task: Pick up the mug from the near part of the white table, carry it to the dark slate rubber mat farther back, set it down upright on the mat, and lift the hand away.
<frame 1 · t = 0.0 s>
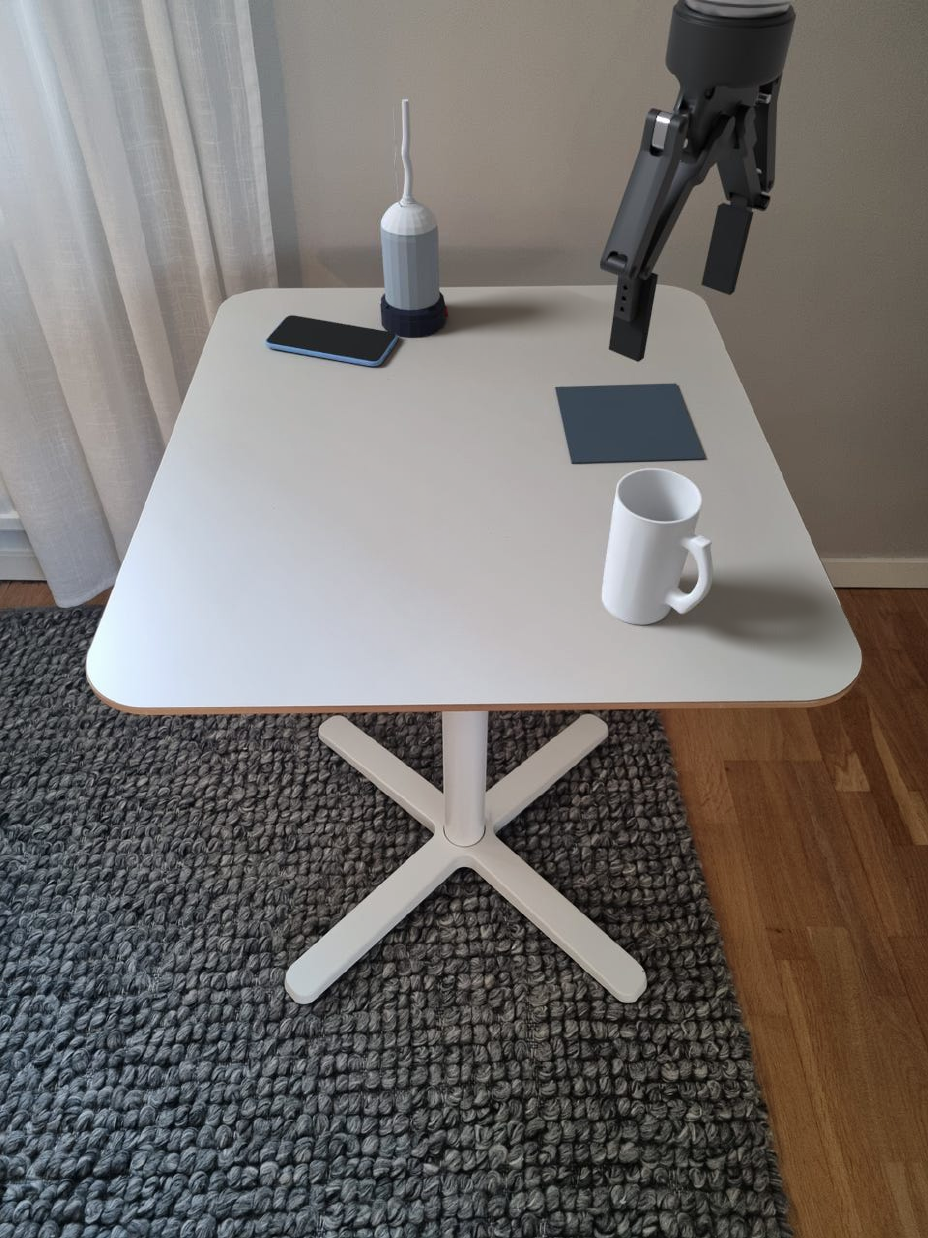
hand: (674, 319, 69), 21 cm above the table, tool pointing down, fingers open, 13 cm apart
mug: (648, 612, 76), on the table
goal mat: (626, 422, 95), on the table
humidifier: (413, 322, 110), on the table
smartphone: (332, 344, 106), on the table
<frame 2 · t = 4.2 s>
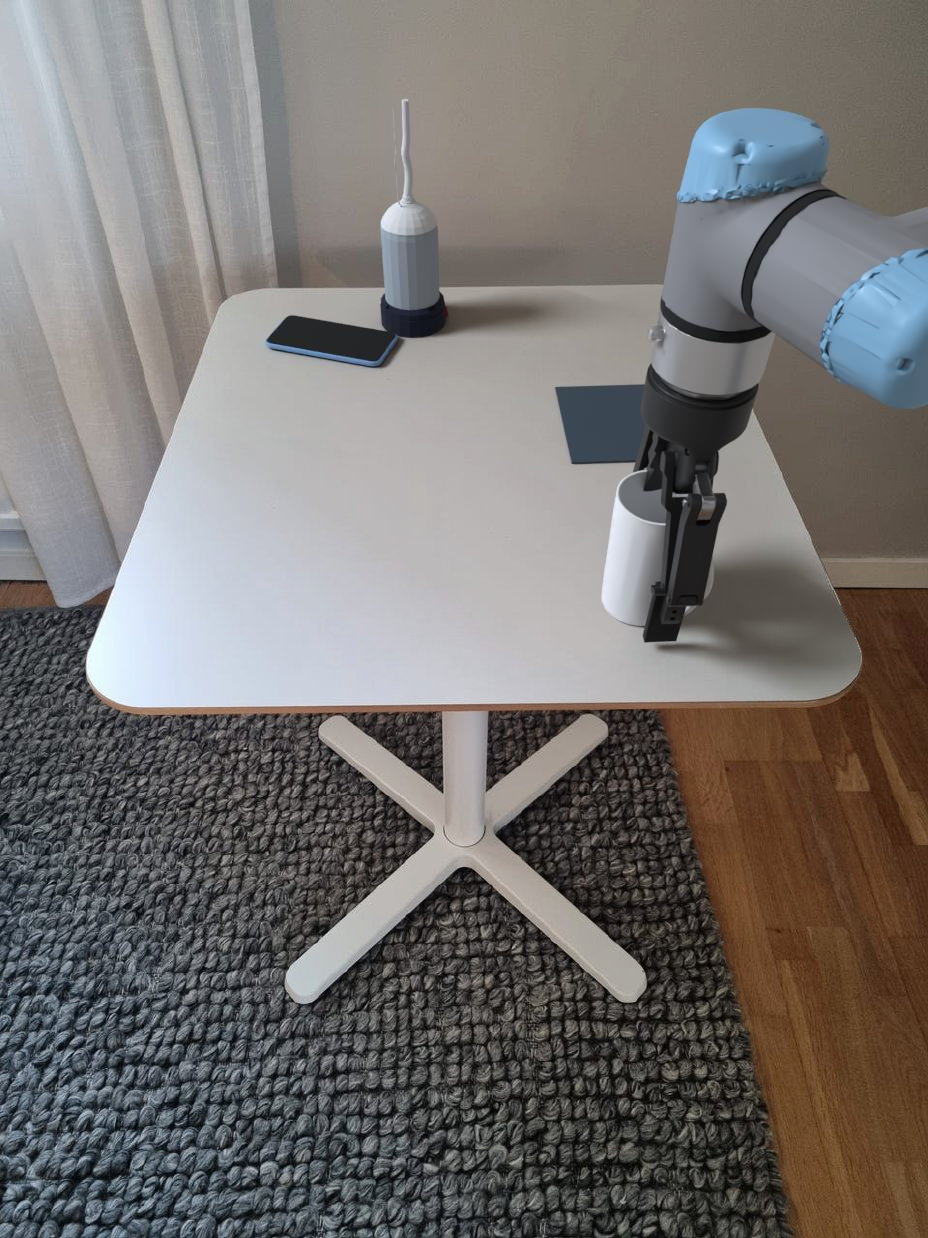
hand: (649, 599, 76), 1 cm above the table, tool pointing down, fingers closed on mug, 8 cm apart
mug: (648, 613, 76), on the table, touching gripper
everything else where it was.
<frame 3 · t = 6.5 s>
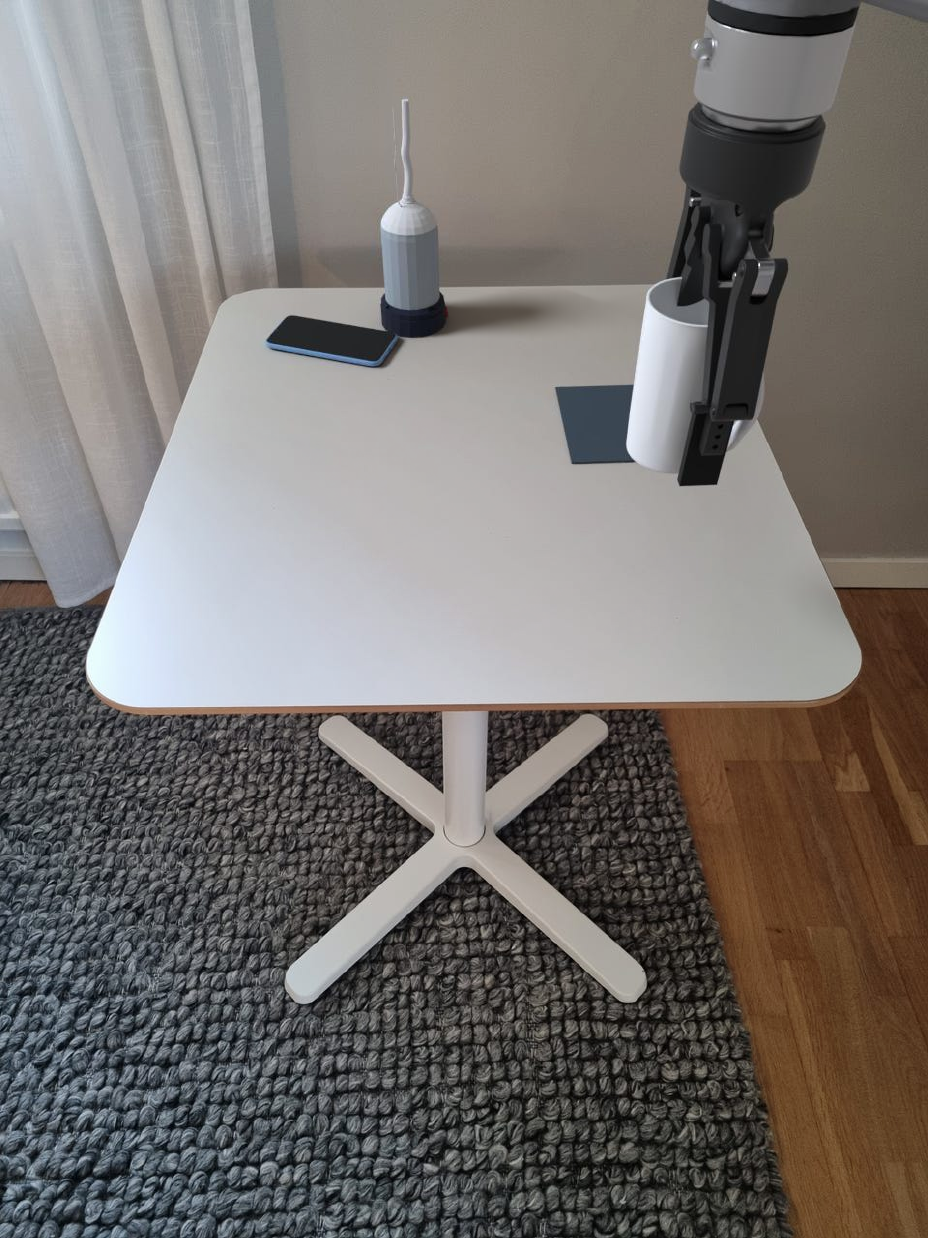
hand: (682, 444, 65), 17 cm above the table, tool pointing down, fingers closed on mug, 8 cm apart
mug: (682, 461, 65), point 15 cm above the table, touching gripper
everything else where it was.
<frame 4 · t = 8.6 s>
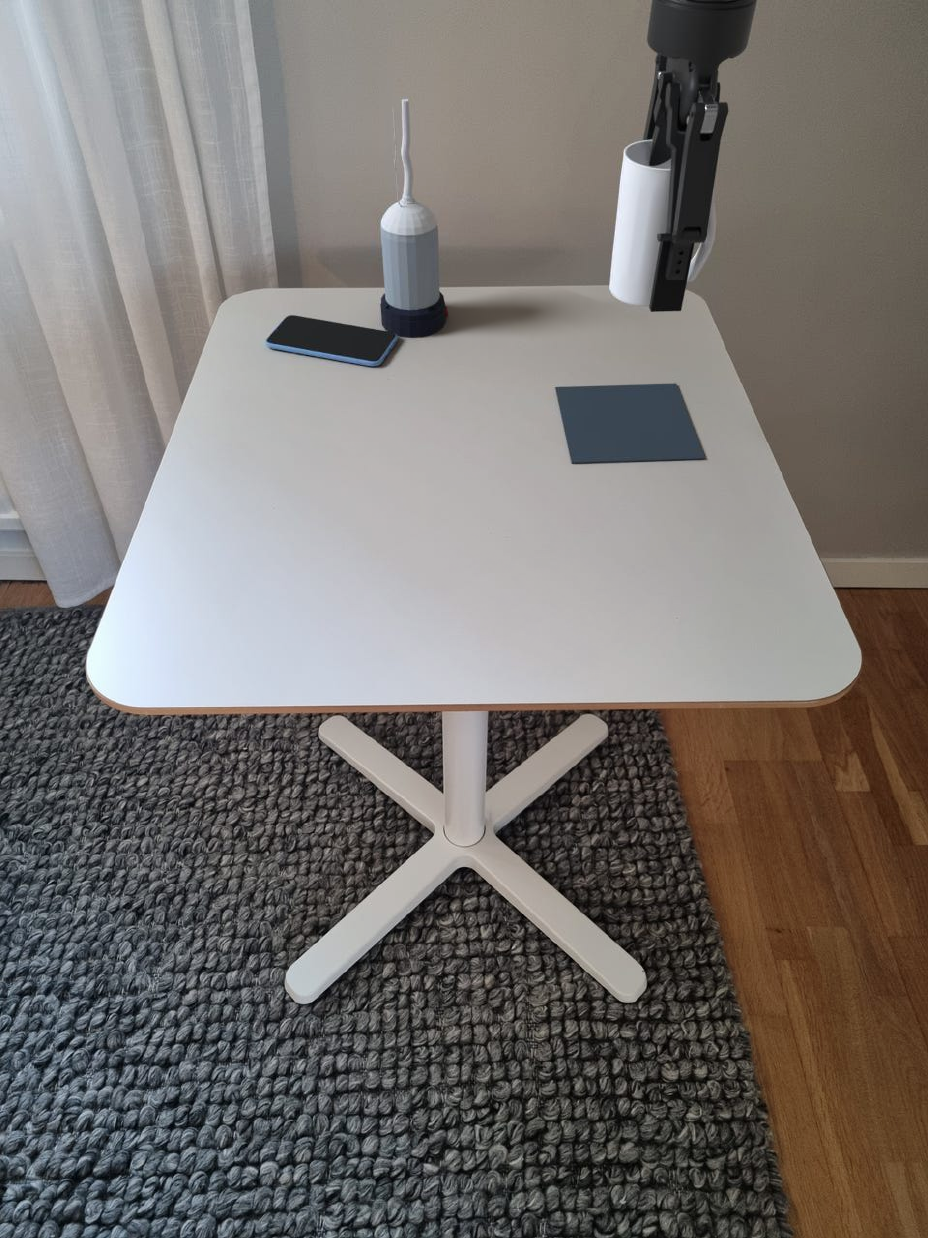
hand: (654, 284, 80), 17 cm above the table, tool pointing down, fingers closed on mug, 8 cm apart
mug: (654, 299, 81), point 16 cm above the table, touching gripper
everything else where it was.
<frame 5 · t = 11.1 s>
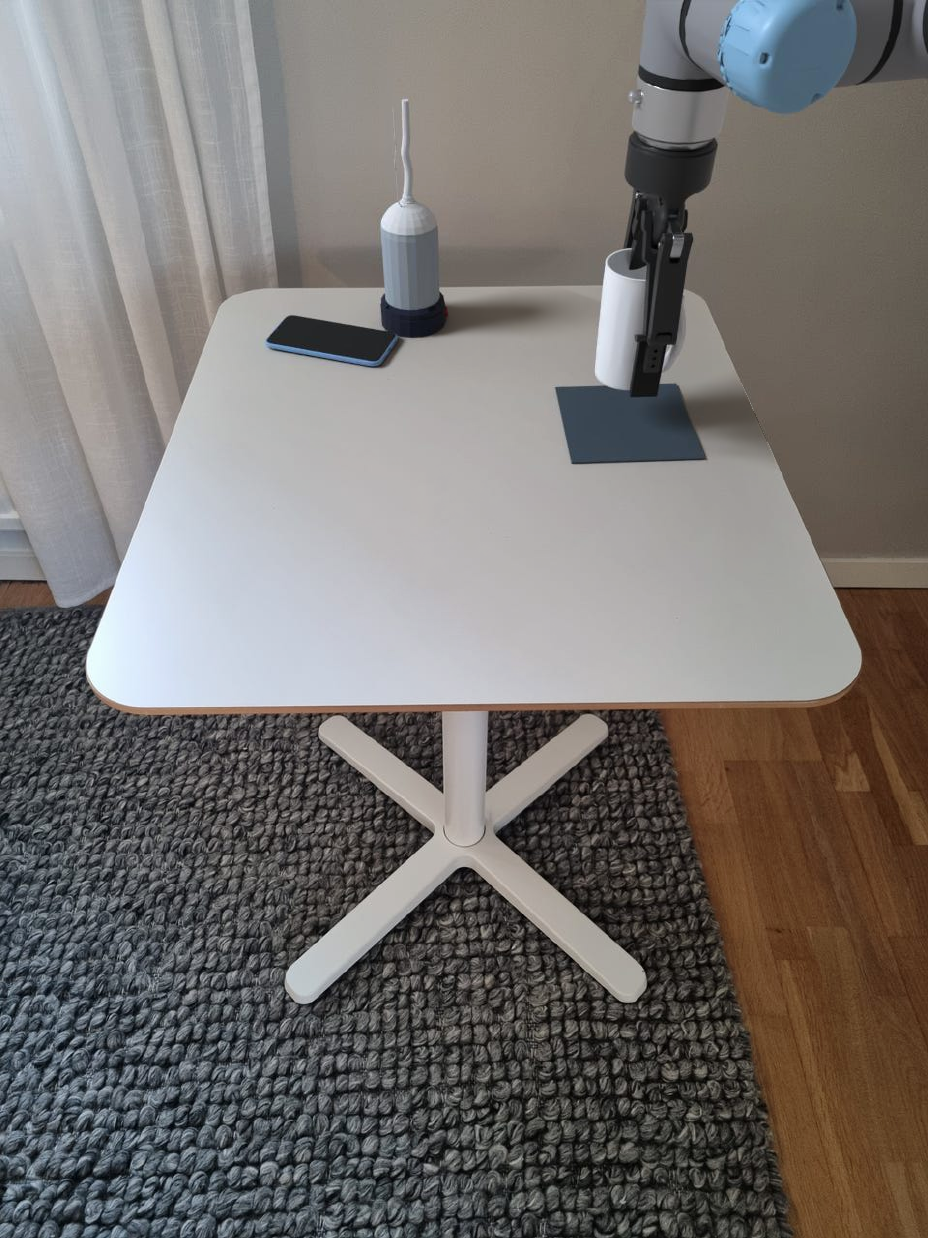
hand: (634, 370, 90), 6 cm above the table, tool pointing down, fingers closed on mug, 8 cm apart
mug: (634, 382, 91), point 5 cm above the table, touching gripper
everything else where it was.
when the fingers open (1 cm above the table, at t = 12.9 s): mug stays where it is, resting on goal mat.
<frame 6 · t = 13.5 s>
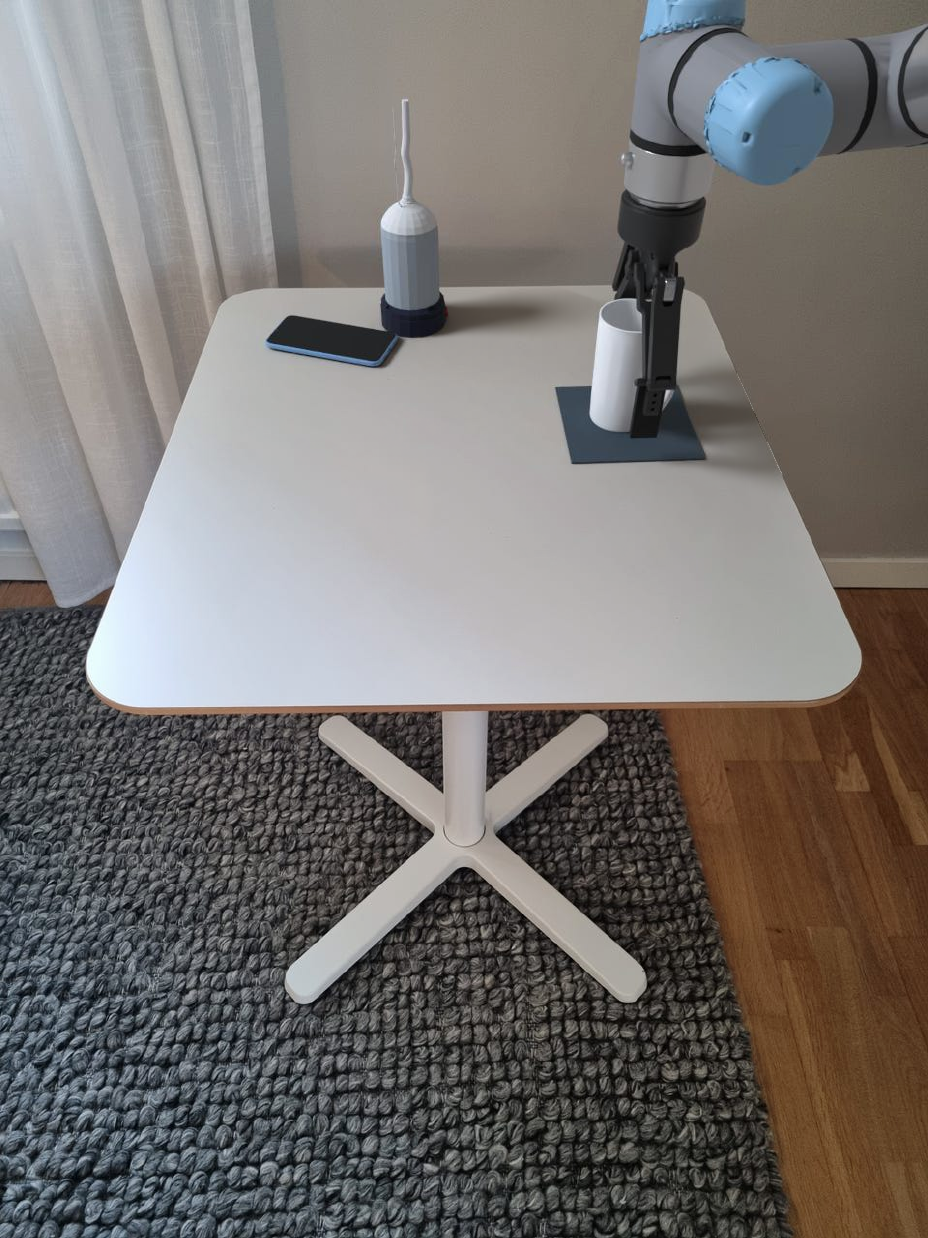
hand: (630, 398, 93), 3 cm above the table, tool pointing down, fingers open, 13 cm apart
mug: (627, 424, 95), resting on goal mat
everything else where it was.
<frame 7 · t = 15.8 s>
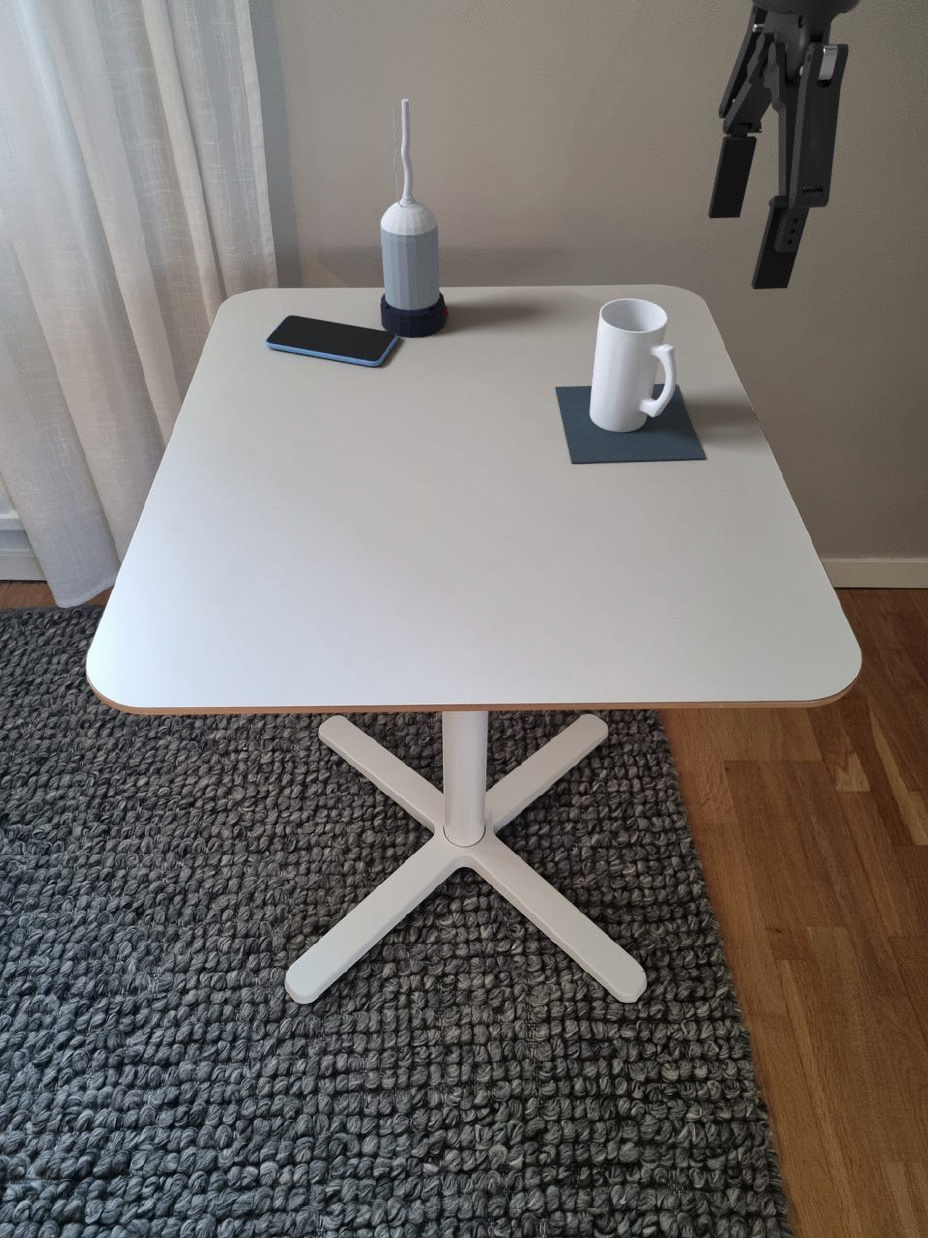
hand: (744, 249, 74), 22 cm above the table, tool pointing down, fingers open, 13 cm apart
nothing on the table moved.
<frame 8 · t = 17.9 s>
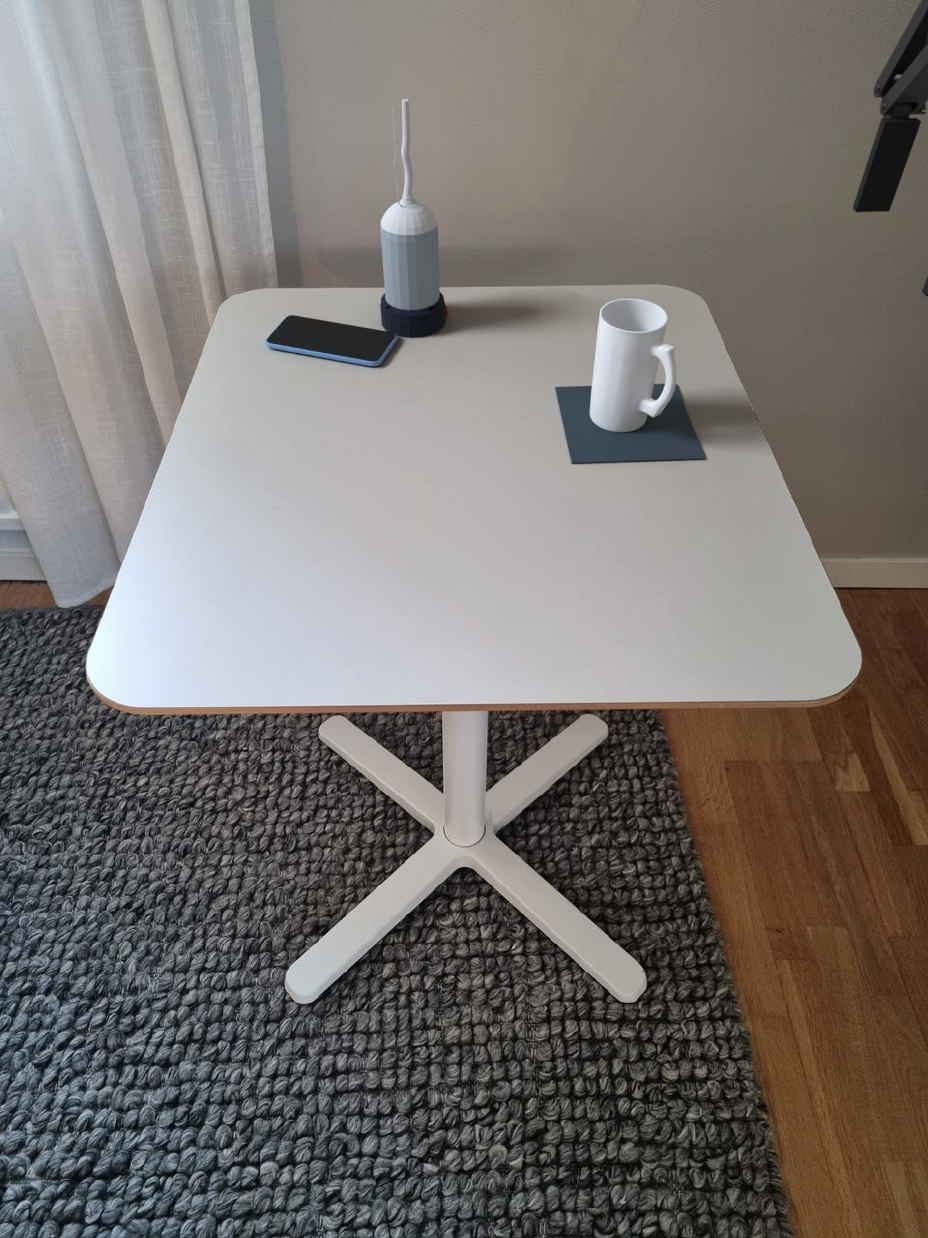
hand: (904, 249, 65), 27 cm above the table, tool pointing down, fingers open, 13 cm apart
nothing on the table moved.
at the end: mug inside the target area on the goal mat (0.5 cm from its centre), point 0.0 cm above the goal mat's base; mug tilted 0°; the gripper is holding nothing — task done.
